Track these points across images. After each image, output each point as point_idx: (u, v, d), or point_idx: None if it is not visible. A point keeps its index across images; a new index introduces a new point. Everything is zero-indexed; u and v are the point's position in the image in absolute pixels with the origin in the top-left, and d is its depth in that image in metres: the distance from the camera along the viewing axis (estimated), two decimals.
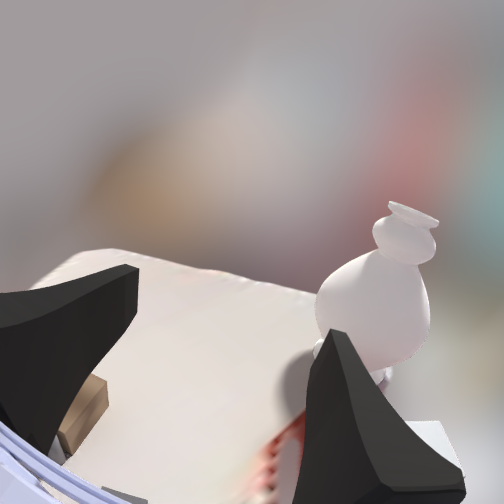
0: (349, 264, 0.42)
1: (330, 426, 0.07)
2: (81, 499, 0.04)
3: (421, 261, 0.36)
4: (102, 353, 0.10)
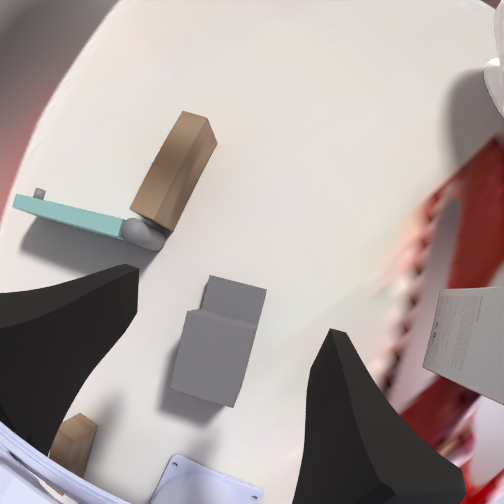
0: None
1: (330, 426, 0.07)
2: (81, 499, 0.04)
3: None
4: (102, 353, 0.10)
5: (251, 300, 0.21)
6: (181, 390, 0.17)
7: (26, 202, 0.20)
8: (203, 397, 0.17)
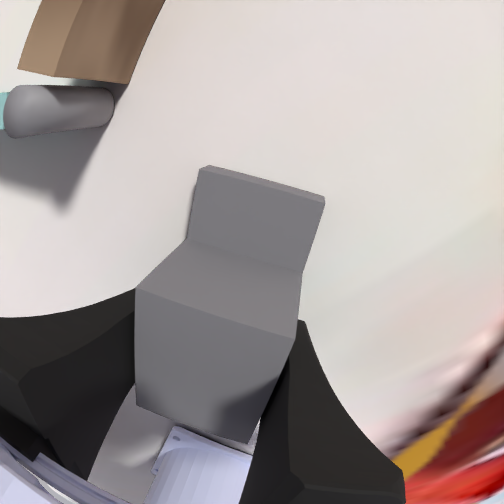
0: None
1: (274, 414, 0.07)
2: (81, 499, 0.04)
3: None
4: None
5: (291, 225, 0.10)
6: (156, 411, 0.09)
7: None
8: (194, 426, 0.09)
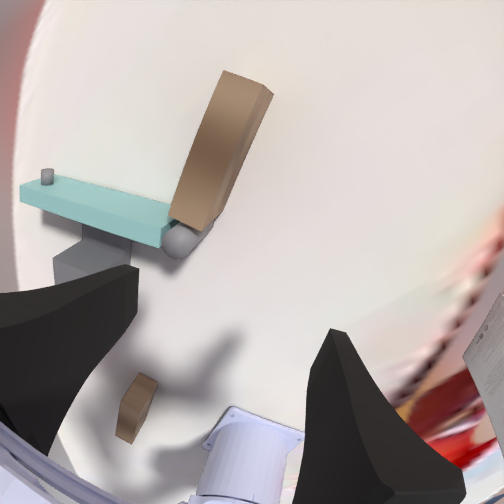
0: None
1: (330, 426, 0.07)
2: (81, 499, 0.04)
3: None
4: (102, 353, 0.10)
5: None
6: None
7: (34, 197, 0.17)
8: None
